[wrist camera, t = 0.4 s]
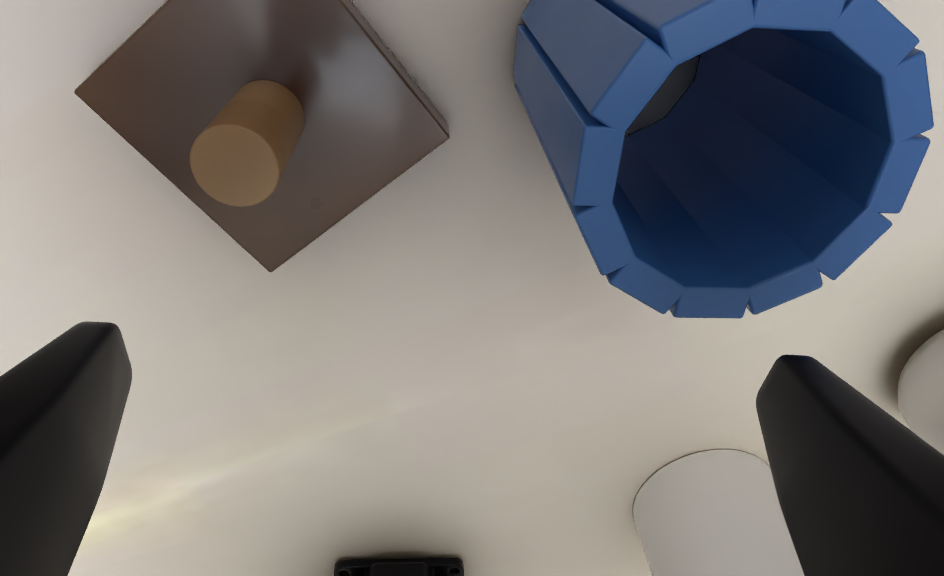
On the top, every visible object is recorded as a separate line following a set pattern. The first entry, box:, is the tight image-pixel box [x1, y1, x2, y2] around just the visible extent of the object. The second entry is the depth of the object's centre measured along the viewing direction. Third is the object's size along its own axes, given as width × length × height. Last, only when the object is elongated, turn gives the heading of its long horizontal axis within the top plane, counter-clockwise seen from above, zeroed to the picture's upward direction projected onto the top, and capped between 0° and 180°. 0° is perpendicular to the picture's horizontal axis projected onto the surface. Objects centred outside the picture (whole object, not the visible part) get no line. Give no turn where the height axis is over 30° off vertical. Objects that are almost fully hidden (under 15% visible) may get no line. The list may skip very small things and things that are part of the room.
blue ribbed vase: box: [513, 0, 934, 318], centre depth 17 cm, size 7×7×10 cm
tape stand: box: [75, 0, 450, 272], centre depth 19 cm, size 8×8×6 cm
